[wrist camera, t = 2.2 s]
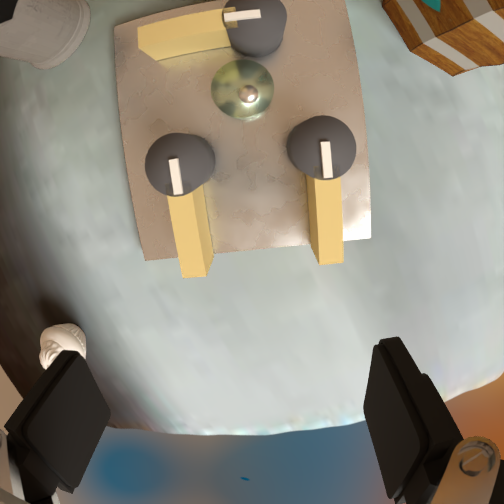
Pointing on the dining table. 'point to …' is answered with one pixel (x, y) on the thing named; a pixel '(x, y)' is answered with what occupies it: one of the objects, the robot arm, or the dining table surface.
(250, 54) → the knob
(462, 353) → the dining table surface
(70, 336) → the white carved ornament
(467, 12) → the mug
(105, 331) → the dining table surface
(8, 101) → the dining table surface
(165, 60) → the base plate
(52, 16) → the glass holder
